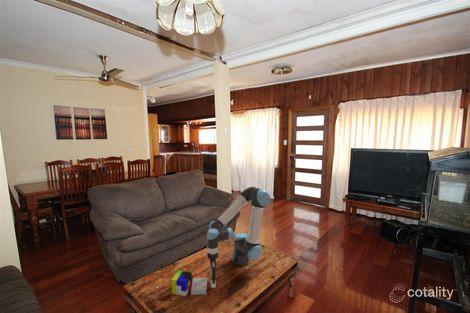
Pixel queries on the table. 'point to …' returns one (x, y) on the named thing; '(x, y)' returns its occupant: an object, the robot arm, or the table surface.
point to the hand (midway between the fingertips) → (213, 280)
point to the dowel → (210, 280)
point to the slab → (199, 286)
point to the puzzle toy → (181, 283)
